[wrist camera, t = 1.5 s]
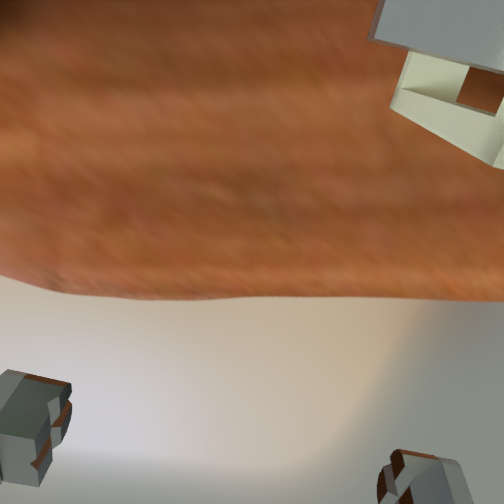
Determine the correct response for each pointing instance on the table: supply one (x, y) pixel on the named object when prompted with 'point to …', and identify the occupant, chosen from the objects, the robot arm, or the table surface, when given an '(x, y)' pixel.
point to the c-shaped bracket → (448, 107)
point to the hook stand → (444, 30)
